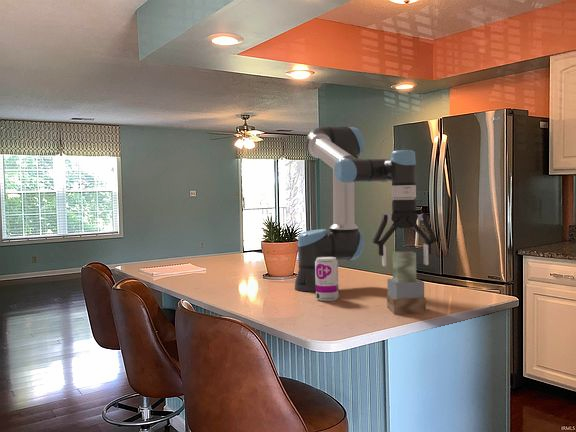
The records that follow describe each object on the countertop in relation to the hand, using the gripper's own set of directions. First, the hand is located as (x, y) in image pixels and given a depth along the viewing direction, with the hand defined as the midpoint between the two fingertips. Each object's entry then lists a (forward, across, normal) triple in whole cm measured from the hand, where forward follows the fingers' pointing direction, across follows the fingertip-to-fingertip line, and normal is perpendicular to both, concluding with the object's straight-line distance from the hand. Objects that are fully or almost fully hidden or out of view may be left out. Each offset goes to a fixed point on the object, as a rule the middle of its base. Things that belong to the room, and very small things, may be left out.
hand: (405, 265), depth 167 cm
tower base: (+15, 0, 0) cm, 15 cm away
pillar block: (+5, 0, 0) cm, 5 cm away
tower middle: (+10, 0, 0) cm, 10 cm away
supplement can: (+15, -23, +21) cm, 34 cm away
